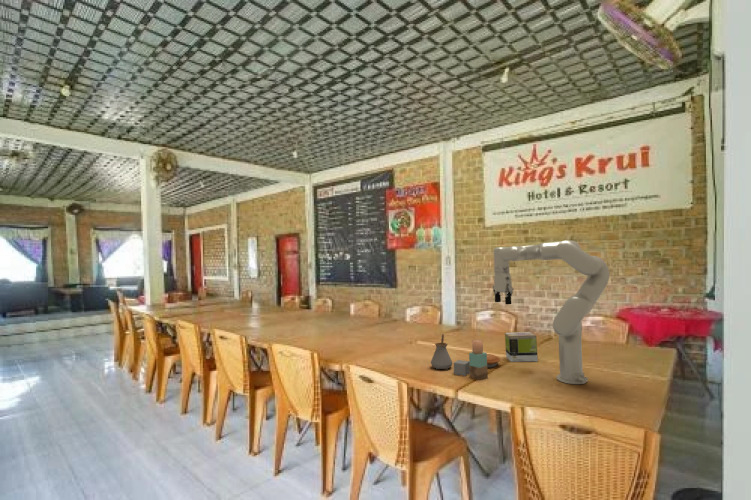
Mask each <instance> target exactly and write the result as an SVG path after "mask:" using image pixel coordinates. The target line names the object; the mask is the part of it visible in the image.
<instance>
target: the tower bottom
mask: <svg viewBox="0 0 751 500" xmlns="http://www.w3.org/2000/svg"><path fill="white" fill-rule="evenodd" d="M469 366H470V365H469ZM488 375H489V373H488V368H487V366H484V367H481V368H478V367H474V366H470V373H469V377H470V378H471V377H473V378H472V379H474V378H475V379H474V380H476V379H477V380H476V381H482V380H486V378H487V379H489V377H488ZM481 379H482V380H481Z"/></svg>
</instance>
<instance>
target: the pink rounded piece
mask: <svg viewBox="0 0 751 500" xmlns="http://www.w3.org/2000/svg"><path fill="white" fill-rule="evenodd" d="M471 343H472V344H471V346H472V347H471V348H472V349H471V352H473V354H483V352H484V344H483V340H482V339H473V340H471Z"/></svg>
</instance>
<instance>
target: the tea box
mask: <svg viewBox="0 0 751 500" xmlns="http://www.w3.org/2000/svg"><path fill="white" fill-rule="evenodd" d="M504 344H505V356H506V359H507V360H508V361H509V362H511V363H513V362H515V363H516V362H517V363H518V362H538V360H539V359H538V344H537V335H536V334H534V333H533V332H531V331H524V332H521V331H520V332H517V331H516V332H515V331H514V332H504Z"/></svg>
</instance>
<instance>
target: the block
mask: <svg viewBox="0 0 751 500" xmlns="http://www.w3.org/2000/svg"><path fill="white" fill-rule="evenodd" d="M454 374H456V375H455V376H460V375H463V376H462V377H467V376H468V375H470V366H469V360H461V359H457V360H456V361H454V362H453V375H454ZM467 374H468V375H467ZM466 375H467V376H466Z"/></svg>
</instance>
